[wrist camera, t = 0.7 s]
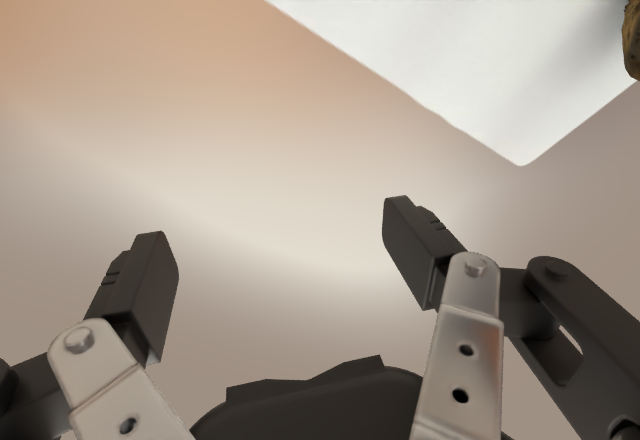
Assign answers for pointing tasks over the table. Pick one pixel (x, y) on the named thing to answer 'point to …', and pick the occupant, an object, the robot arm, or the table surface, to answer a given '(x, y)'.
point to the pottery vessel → (632, 38)
